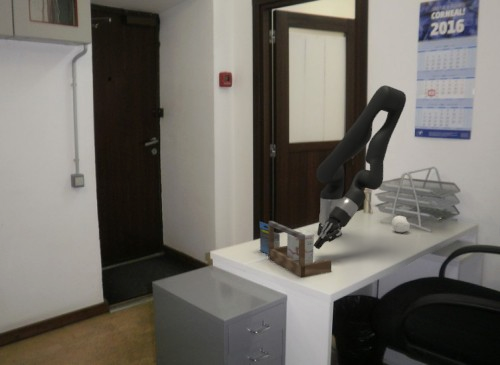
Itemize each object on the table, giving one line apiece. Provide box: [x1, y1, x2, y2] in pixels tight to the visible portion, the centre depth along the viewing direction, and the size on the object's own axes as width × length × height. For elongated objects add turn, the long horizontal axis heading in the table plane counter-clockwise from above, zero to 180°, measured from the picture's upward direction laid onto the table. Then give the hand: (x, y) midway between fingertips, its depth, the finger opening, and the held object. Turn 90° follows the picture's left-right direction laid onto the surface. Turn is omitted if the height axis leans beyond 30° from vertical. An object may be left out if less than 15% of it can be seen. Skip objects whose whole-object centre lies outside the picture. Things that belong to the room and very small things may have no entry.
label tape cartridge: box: [259, 221, 281, 255], centre depth 183 cm, size 9×4×12 cm, turn 33°
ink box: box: [286, 230, 315, 264], centre depth 168 cm, size 9×5×12 cm, turn 111°
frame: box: [267, 220, 333, 278], centre depth 167 cm, size 23×12×15 cm, turn 26°
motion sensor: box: [391, 215, 411, 234], centre depth 210 cm, size 8×8×8 cm
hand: (316, 247), depth 172 cm, fingers closed
